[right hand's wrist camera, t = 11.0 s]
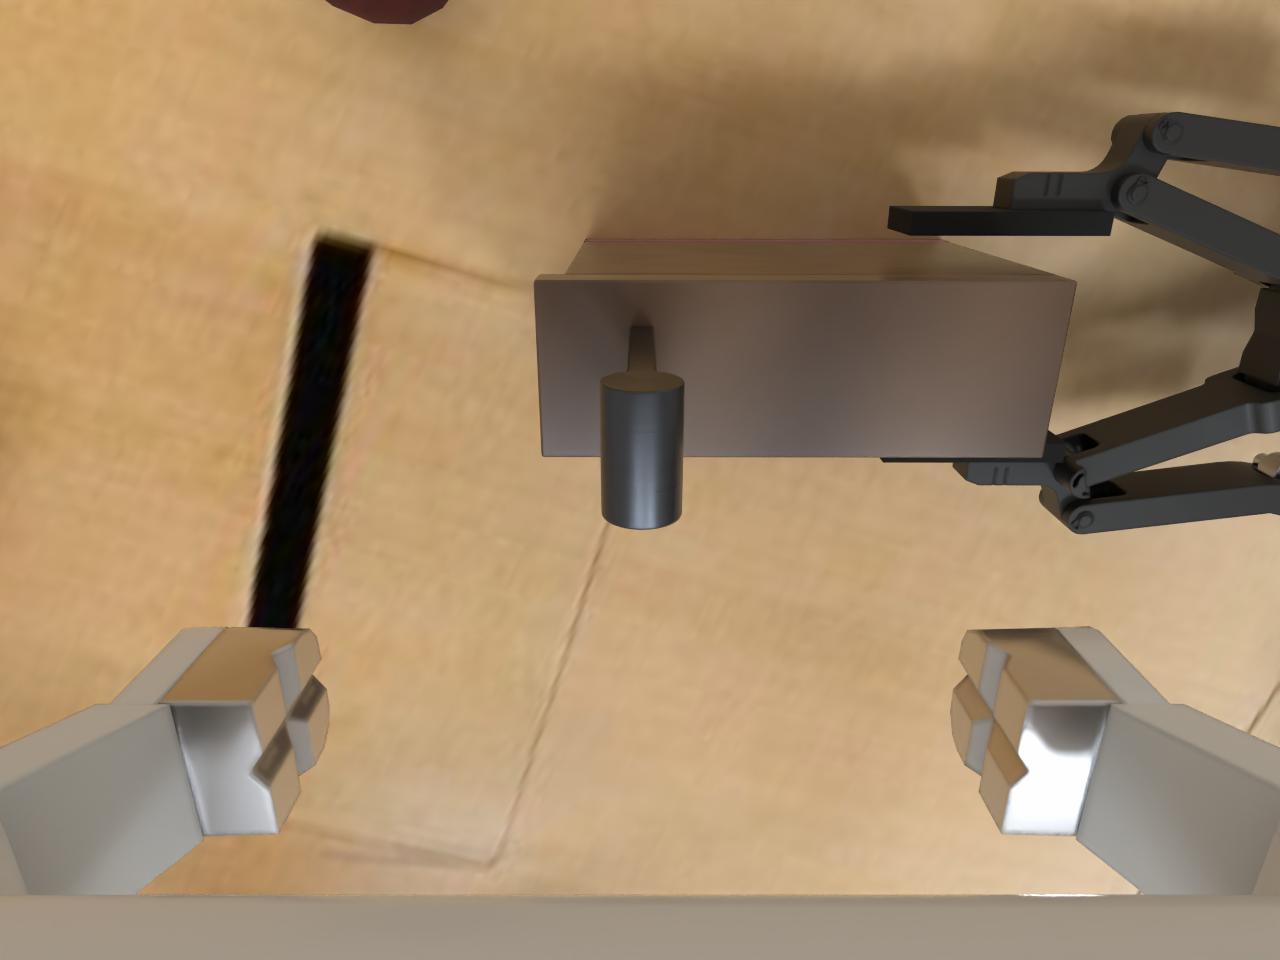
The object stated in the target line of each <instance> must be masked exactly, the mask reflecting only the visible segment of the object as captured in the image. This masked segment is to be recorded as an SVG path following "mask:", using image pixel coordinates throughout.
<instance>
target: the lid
mask: <svg viewBox="0 0 1280 960" xmlns="http://www.w3.org/2000/svg"><path fill="white" fill-rule="evenodd" d="M1076 284H1077V283H1076V281H1074V280H1070V279H1067V278H1064V277H1060V276H1057V275H603V274H540V275H539V276H538V277H537V278H536V279H535V280H534V300H535V322H536V344H537V365H538V387H539V409H540V431H541V452H542V456H543V457H601V504H602V515H603V517H604V519H605V520H606V521H608V522H609V523H611V524H613V525H616V526H619V527H623V528H628V529H638V530H646V529H656V528H661V527H665V526H668V525H671V524H673V523H674V522H676V521H677V520H678V519H679V518H680V516H681V514H682V483H683V457H919V458H1041V457H1042V456H1043V452H1044V447H1045V442H1046V437H1047V432H1048V427H1049V422H1050V417H1051V411H1052V406H1053V401H1054V396H1055V391H1056V386H1057V381H1058V376H1059V371H1060V366H1061V361H1062V356H1063V351H1064V345H1065V340H1066V335H1067V330H1068V325H1069V320H1070V315H1071V310H1072V305H1073V300H1074V295H1075V290H1076Z"/></svg>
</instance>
